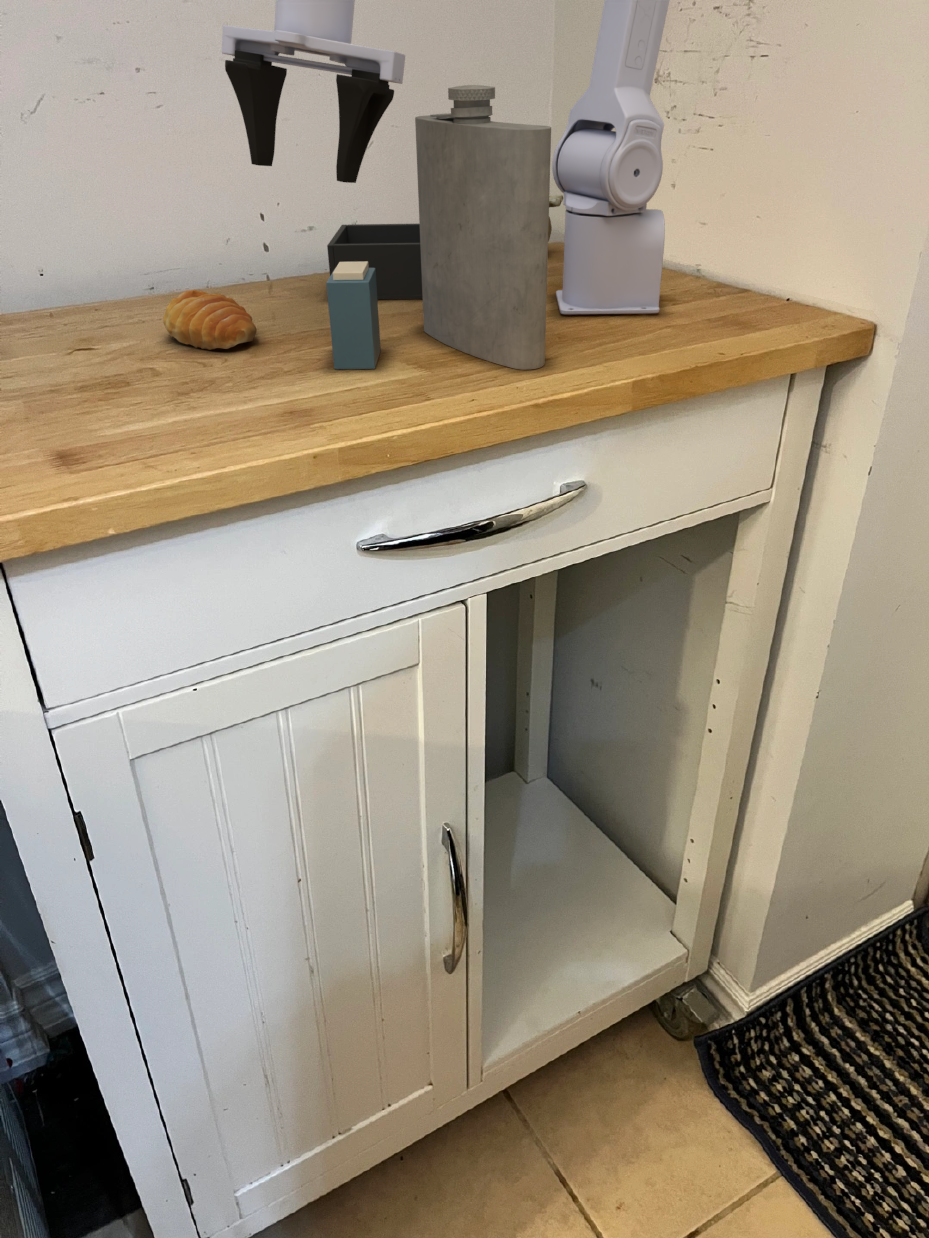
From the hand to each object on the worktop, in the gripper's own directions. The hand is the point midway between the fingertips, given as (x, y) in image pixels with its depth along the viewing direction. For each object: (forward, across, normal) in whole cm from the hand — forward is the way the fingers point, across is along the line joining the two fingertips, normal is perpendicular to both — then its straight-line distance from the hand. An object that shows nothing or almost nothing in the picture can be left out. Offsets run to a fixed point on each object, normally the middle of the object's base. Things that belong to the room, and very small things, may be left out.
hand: (303, 173), depth 74 cm
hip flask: (+12, +14, +7) cm, 20 cm away
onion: (+7, +6, +44) cm, 45 cm away
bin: (+11, -1, +26) cm, 28 cm away
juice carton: (+14, +6, +1) cm, 15 cm away
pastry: (+15, -9, +3) cm, 18 cm away
